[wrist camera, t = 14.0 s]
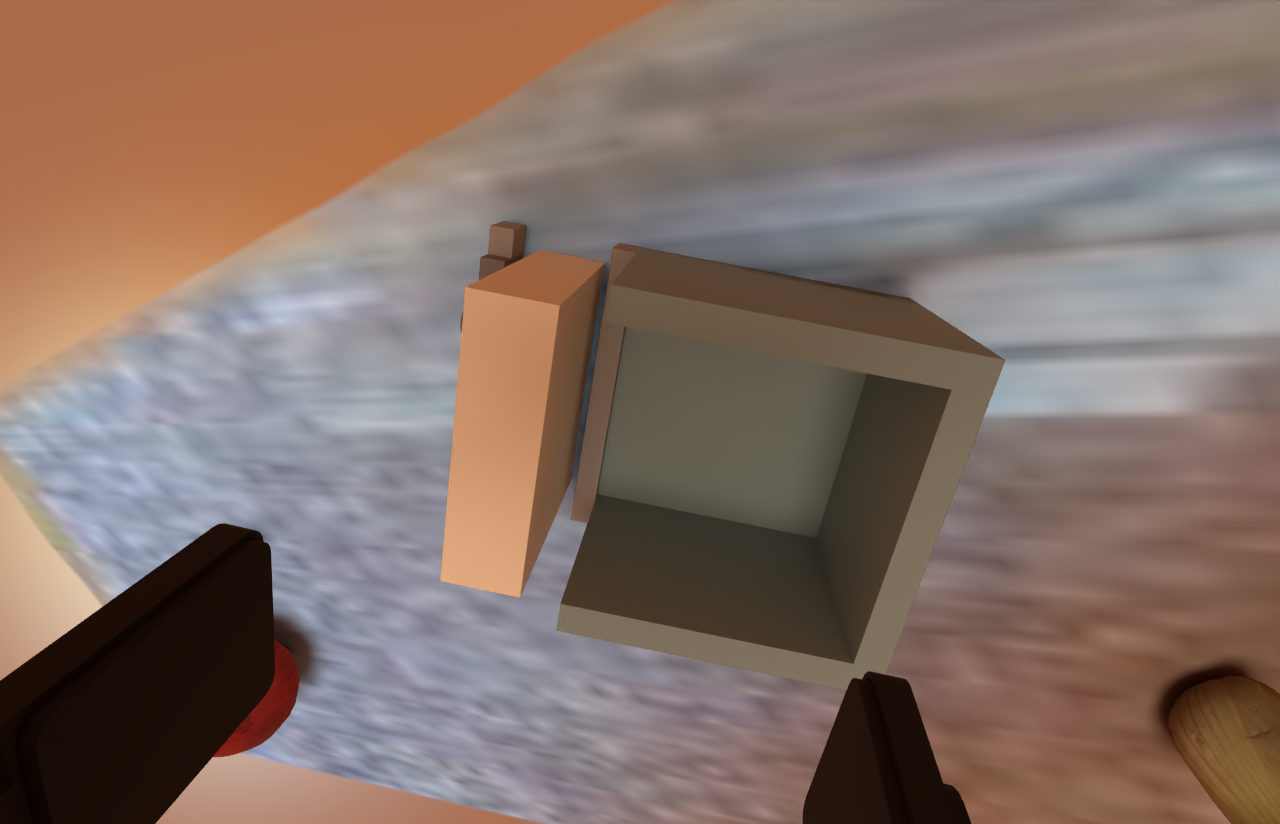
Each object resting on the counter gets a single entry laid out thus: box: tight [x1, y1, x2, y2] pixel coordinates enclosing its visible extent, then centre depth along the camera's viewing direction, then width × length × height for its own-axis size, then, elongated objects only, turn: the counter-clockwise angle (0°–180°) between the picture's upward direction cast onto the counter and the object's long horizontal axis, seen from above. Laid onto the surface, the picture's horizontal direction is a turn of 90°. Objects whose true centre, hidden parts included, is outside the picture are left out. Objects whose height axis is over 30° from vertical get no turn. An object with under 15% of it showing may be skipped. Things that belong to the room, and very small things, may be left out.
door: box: [441, 250, 605, 598], centre depth 28 cm, size 4×11×10 cm, turn 170°
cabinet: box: [479, 222, 1005, 690], centre depth 27 cm, size 18×13×10 cm
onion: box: [213, 640, 299, 757], centre depth 36 cm, size 6×6×8 cm
